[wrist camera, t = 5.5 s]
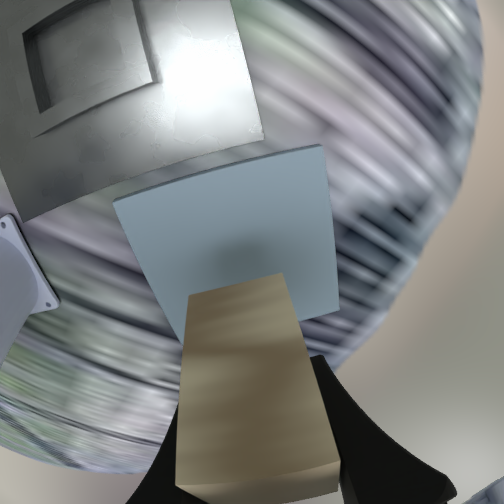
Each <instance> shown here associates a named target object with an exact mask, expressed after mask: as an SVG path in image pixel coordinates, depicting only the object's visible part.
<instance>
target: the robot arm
mask: <svg viewBox="0 0 504 504" xmlns="http://www.w3.org/2000/svg"><path fill="white" fill-rule="evenodd" d="M4 223H5V225H6V226H5V225H4ZM49 303H50V304H49ZM59 304H60V302H59V300H58V298H57V296H56V295H55V293H54V292H53V290H52V289H51V287H50V285H49V284H48V282H47V280H46V279H45V277H44V275H43V274H42V272H41V270H40V268H39V267H38V265H37V263H36V261H35V259H34V258H33V256H32V254H31V252H30V250H29V248H28V246H27V244H26V243H25V241H24V239H23V237H22V235H21V233H20V230H19V228H18V226H17V224H16V222H15V220H14V218H13V216H11V215H10V214H7V215H5V216H3V217H2V218H0V368H1V366H2V364H3V362H4V360H5V358H6V356H7V354H8V352H9V350H10V348H11V346H12V344H13V342H14V341H15V339H16V337H17V335H18V333H19V331H20V330H21V328H22V326H23V324H24V323H25V321H26V319H27V318H28V316H29V315H30V314H34V313H38V312H43V311H47V310H51V309H56V308H58V306H59ZM310 361H311V364H312V367H313V370H314V374H315V377H316V380H317V383H318V387H319V390H320V393H321V396H322V400H323V403H324V406H325V410H326V413H327V416H328V420H329V423H330V426H331V430H332V433H333V437H334V440H335V443H336V447H337V450H338V454H339V457H340V473H339V483H340V487H341V491H342V495H343V499H344V504H447V501H449V500H451V499H453V498H454V497H456V495H457V491H456V489H455V487H454V485H453V483H452V482H451V481H450V479H449V478H448V477H447V476H446V475H445V474H443V473H441V472H439V471H438V470H436V469H434V468H432V467H431V466H429V465H427V464H426V463H424V462H423V461H421V460H420V459H418V458H417V457H415V456H414V455H412V454H411V453H410V452H408V451H407V450H406V449H404V448H403V447H402V446H400V445H399V444H398V443H397V442H395V441H394V440H393V439H392V438H391V437H389V436H388V435H387V434H386V433H385V432H384V431H382V429H380V427H378V426H377V425H376V424H375V423H374V422H373V421H372V420H371V419H370V418H369V417H368V416H367V414H365V412H364V411H363V410H362V409H361V408H360V407H359V406H358V405H357V403H356V402H355V401H354V400H353V399H352V397H351V396H350V395H349V394H348V392H347V391H346V390H345V389H344V387H343V386H342V385H341V384H340V382H339V381H338V379H337V378H336V376H335V375H334V373H333V372H332V370H331V369H330V367H329V365H328V364H327V362H326V360H325V358H324V356H323V355H317V356H313V357H310ZM178 406H179V402H178V405H177V408H176V411H175V414H174V416H173V419H172V421H171V424H170V427H169V429H168V432H167V434H166V436H165V439H164V441H163V443H162V445H161V447H160V449H159V452H158V454H157V456H156V458H155V460H154V461H153V463H152V465H151V467H150V469H149V470H148V472H147V474H146V475H145V477H144V479H143V480H142V482H141V483H140V485H139V486H138V488H137V489H136V491H135V492H134V493H133V495H132V496H131V497H130V499H129V500H128V501H127V502H126V504H209V503H207V502H205V501H203V500H201V499H199V498H198V497H196V496H194V495H192V494H190V493H188V492H186V491H185V490H183V489H181V488H179V487H178V486H176V485H175V479H176V445H177V423H178ZM463 504H504V476H503V477H502V478H500V479H498V480H496V481H494V482H493V483H491V484H490V485H488V486H487V487H485V488H484V489H482V490H481V491H479V492H478V493H476V494H475V495H473V496H472V497H471V499H469V500H467V501H466V502H464V503H463Z"/></svg>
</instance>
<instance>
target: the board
mask: <svg viewBox="0 0 504 504" xmlns="http://www.w3.org/2000/svg"><path fill="white" fill-rule="evenodd" d="M112 204H113V206H114V209H115V211H116V213H117V216H118V218H119V221H120V223H121V225H122V227H123V230H124V232H125V234H126V237H127V239H128V241H129V243H130V245H131V248H132V250H133V252H134V254H135V256H136V258H137V260H138V262H139V265H140V267H141V269H142V271H143V273H144V275H145V277H146V279H147V281H148V283H149V285H150V287H151V289H152V291H153V293H154V295H155V297H156V299H157V300H158V302H159V304H160V306H161V308H162V310H163V312H164V314H165V316H166V317H167V319H168V321H169V323H170V325H171V326H172V328H173V330H174V332H175V334H176V335H177V337H178V339H179V341H180V342H181V344H182V346H183V343H184V333H185V323H186V314H187V305H188V296H189V295H191V294H195V293H200V292H204V291H208V290H213V289H217V288H221V287H225V286H229V285H233V284H238V283H242V282H246V281H250V280H254V279H258V278H262V277H266V276H270V275H274V274H278V273H282V274H283V277H284V280H285V283H286V286H287V289H288V292H289V295H290V298H291V301H292V304H293V307H294V310H295V314H296V317H297V320H298V321H302V320H306V319H310V318H313V317H317V316H320V315H324V314H328V313H331V312H335V311H338V310H339V292H338V276H337V263H336V251H335V240H334V230H333V220H332V211H331V203H330V195H329V187H328V179H327V172H326V165H325V159H324V152H323V146H322V145H320V144H316V145H311V146H306V147H301V148H296V149H291V150H287V151H282V152H277V153H273V154H268V155H264V156H260V157H256V158H251V159H247V160H243V161H239V162H235V163H231V164H228V165H224V166H220V167H216V168H213V169H209V170H205V171H202V172H198V173H195V174H191V175H188V176H184V177H181V178H178V179H174V180H171V181H168V182H165V183H161V184H158V185H155V186H152V187H149V188H146V189H143V190H140V191H137V192H134V193H131V194H128V195H125V196H122V197H120V198H117V199H115V200H114V201H113V202H112Z"/></svg>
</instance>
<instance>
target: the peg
mask: <svg viewBox="0 0 504 504" xmlns="http://www.w3.org/2000/svg"><path fill="white" fill-rule="evenodd" d="M339 473H340V457H339V454H338V450H337V447H336V443H335V440H334V437H333V433H332V430H331V426H330V423H329V420H328V416H327V413H326V410H325V406H324V403H323V400H322V396H321V393H320V390H319V387H318V383H317V380H316V377H315V374H314V370H313V367H312V364H311V361H310V358H309V354H308V351H307V348H306V345H305V342H304V339H303V335H302V332H301V329H300V326H299V323H298V320H297V317H296V314H295V310H294V307H293V304H292V301H291V298H290V295H289V292H288V289H287V286H286V283H285V280H284V277H283V274H282V273H278V274H274V275H270V276H266V277H262V278H258V279H254V280H250V281H246V282H242V283H238V284H233V285H229V286H225V287H221V288H217V289H213V290H208V291H204V292H200V293H195V294H191V295H189V296H188V305H187V314H186V323H185V333H184V343H183V354H182V365H181V377H180V391H179V406H178V423H177V445H176V479H175V485H176V486H178V487H179V488H181V489H183V490H185V491H186V492H188V493H190V494H192V495H194V496H196V497H198V498H199V499H201V500H203V501H205V502H207V503H209V504H283V503H289V502H294V501H299V500H304V499H309V498H313V497H317V496H321V495H325V494H329V493H333V492H337V491H338V484H339Z"/></svg>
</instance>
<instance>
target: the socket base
mask: <svg viewBox="0 0 504 504" xmlns="http://www.w3.org/2000/svg"><path fill="white" fill-rule="evenodd" d="M263 139H264V134H263V130H262V126H261V121H260V117H259V113H258V109H257V104H256V100H255V96H254V92H253V88H252V84H251V80H250V76H249V72H248V68H247V64H246V60H245V56H244V52H243V48H242V44H241V41H240V37H239V33H238V29H237V26H236V22H235V18H234V15H233V11H232V7H231V4H230V0H0V168H1V171H2V174H3V176H4V179H5V182H6V184H7V187H8V189H9V192H10V194H11V197H12V199H13V201H14V204H15V206H16V208H17V211H18V213H19V215H20V217H21V219H22V222H23V223H24V222H26V221H28V220H30V219H32V218H34V217H36V216H38V215H41V214H43V213H45V212H47V211H49V210H52V209H54V208H56V207H58V206H61V205H63V204H65V203H67V202H70V201H72V200H75V199H77V198H79V197H82V196H84V195H87V194H89V193H92V192H94V191H97V190H99V189H102V188H104V187H107V186H110V185H112V184H115V183H118V182H120V181H123V180H126V179H129V178H131V177H134V176H137V175H140V174H143V173H146V172H149V171H152V170H155V169H158V168H161V167H164V166H167V165H170V164H174V163H177V162H180V161H183V160H187V159H190V158H194V157H197V156H201V155H204V154H208V153H211V152H215V151H219V150H222V149H226V148H230V147H234V146H238V145H242V144H246V143H250V142H255V141H259V140H263Z"/></svg>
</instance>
